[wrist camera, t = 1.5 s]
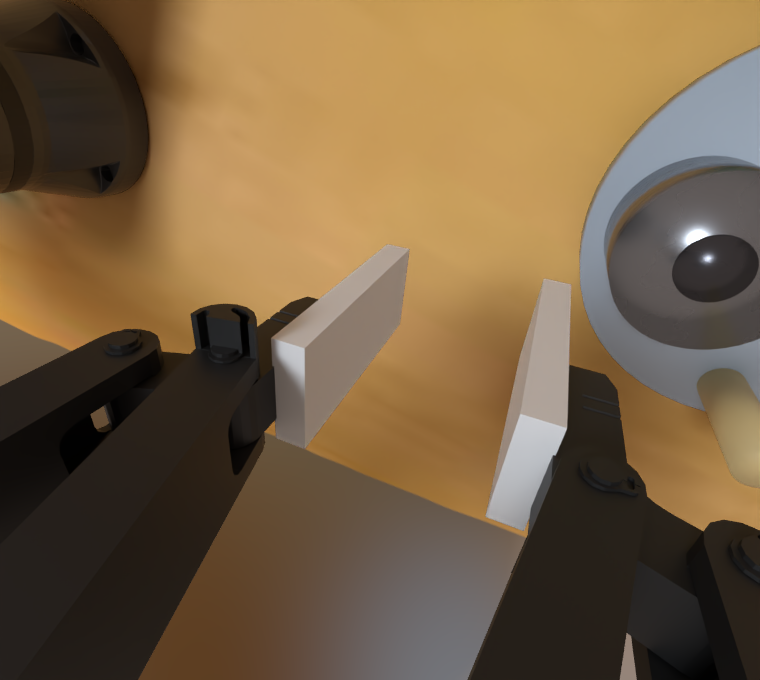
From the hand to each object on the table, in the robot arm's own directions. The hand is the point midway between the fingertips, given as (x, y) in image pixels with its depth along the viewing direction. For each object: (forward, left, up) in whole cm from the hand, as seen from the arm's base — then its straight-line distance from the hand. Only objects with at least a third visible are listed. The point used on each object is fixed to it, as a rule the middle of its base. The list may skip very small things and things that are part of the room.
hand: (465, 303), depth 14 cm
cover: (+9, 0, -14) cm, 17 cm away
